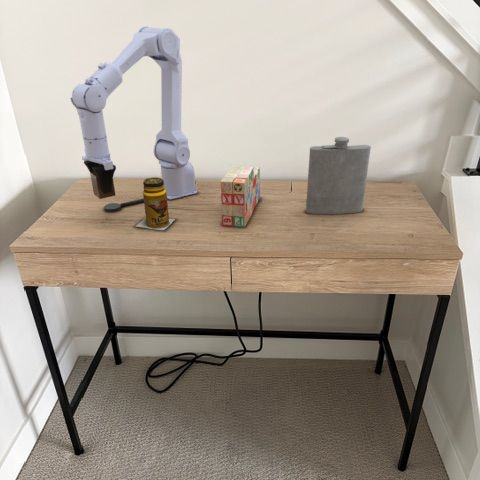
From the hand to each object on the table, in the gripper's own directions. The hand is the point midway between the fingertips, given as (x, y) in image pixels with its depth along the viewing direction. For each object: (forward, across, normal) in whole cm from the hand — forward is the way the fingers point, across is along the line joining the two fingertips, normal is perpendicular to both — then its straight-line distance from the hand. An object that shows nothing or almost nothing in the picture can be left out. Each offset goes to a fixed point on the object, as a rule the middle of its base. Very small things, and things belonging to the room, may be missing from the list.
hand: (103, 189), depth 134 cm
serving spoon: (+8, -6, +9) cm, 14 cm away
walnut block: (+1, 0, 0) cm, 1 cm away
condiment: (+9, +10, +9) cm, 16 cm away
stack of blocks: (+9, +16, +33) cm, 38 cm away
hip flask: (+9, +31, +54) cm, 63 cm away
